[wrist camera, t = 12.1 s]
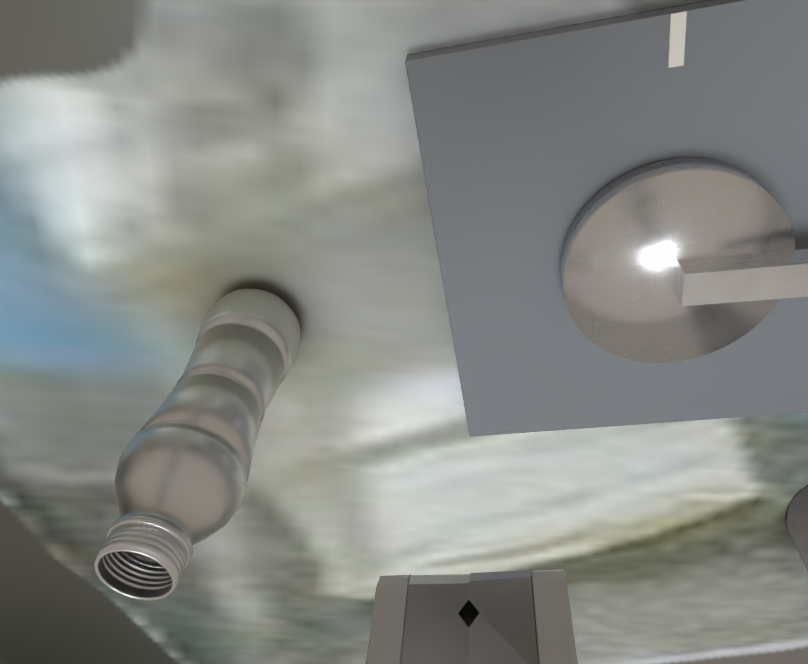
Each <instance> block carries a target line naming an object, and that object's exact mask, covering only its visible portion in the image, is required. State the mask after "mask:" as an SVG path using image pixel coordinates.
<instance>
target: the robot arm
mask: <svg viewBox="0 0 808 664" xmlns="http://www.w3.org/2000/svg"><path fill="white" fill-rule="evenodd" d="M532 582H533V583H532ZM366 664H578V662H577V655H576V648H575V640H574V633H573V626H572V618H571V611H570V604H569V596H568V589H567V582H566V576H565V573H564V570H546V571H532V575H531V570H525V571H505V572H486V573H470V574H448V575H394V576H380V579H379V581H378V584H377V587H376V594H375V601H374V608H373V615H372V622H371V629H370V637H369V644H368V651H367V658H366Z"/></svg>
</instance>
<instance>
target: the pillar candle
mask: <svg viewBox="0 0 808 664" xmlns="http://www.w3.org/2000/svg"><path fill="white" fill-rule="evenodd" d="M786 523H787V528H788V531H789V534H790V536H791V538H792V539H793V542H794V544H795V546H796V548H797V550H798V552H799V554H800V556H801V559H802V560H803V562H804V564H805V566H806V568H807V571H808V486H806V487H804V488H803V489H802V490H801V491H800V492H799V493H798V494H797V495H796V496H794V498H793V499H792V500H791V502H790V504H789V507H788V511H787V518H786Z"/></svg>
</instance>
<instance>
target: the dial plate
mask: <svg viewBox="0 0 808 664" xmlns="http://www.w3.org/2000/svg"><path fill="white" fill-rule="evenodd" d="M405 63H406V69H407V75H408V80H409V86H410V92H411V98H412V104H413V110H414V115H415V121H416V127H417V133H418V139H419V144H420V150H421V156H422V162H423V168H424V173H425V179H426V185H427V191H428V197H429V203H430V208H431V214H432V220H433V226H434V232H435V237H436V243H437V249H438V255H439V261H440V266H441V272H442V278H443V284H444V290H445V296H446V301H447V307H448V313H449V319H450V325H451V330H452V336H453V342H454V348H455V354H456V359H457V365H458V371H459V377H460V383H461V389H462V394H463V400H464V406H465V412H466V418H467V423H468V429H469V435H470V436H483V435H497V434H511V433H525V432H539V431H553V430H567V429H581V428H594V427H608V426H622V425H636V424H650V423H664V422H678V421H691V420H705V419H719V418H733V417H747V416H761V415H775V414H789V413H802V412H808V297H796V298H783V299H779V301H778V302H777V304H776V305H775V306H774V307H773V309H772V310H771V311H770V312H769V314H768V315H767V316H766V317H765V318H764V319H763V320H762V321H761V322H760V323H759V324H758V325H757V326H755V327H754V328H753V329H752V330H751V331H749V332H748V333H747V334H745V335H744V336H742V337H741V338H739V339H738V340H736V341H735V342H733V343H731V344H729V345H727V346H725V347H723V348H722V349H719V350H717V351H714V352H712V353H710V354H707V355H704V356H700V357H697V358H693V359H689V360H684V361H678V362H669V363H649V362H639V361H634V360H629V359H625V358H622V357H619V356H616V355H614V354H611V353H609V352H607V351H605V350H603V349H602V348H600V347H598V346H597V345H595V344H594V343H593V342H592V341H590V340H589V339H588V338H587V337H586V336H585V335H584V334H583V333H582V332H581V331H580V329H579V328H578V327H577V325H576V324H575V322H574V321H573V319H572V317H571V314H570V312H569V310H568V307H567V303H566V299H565V295H564V290H563V286H562V282H561V274H560V261H561V253H562V249H563V244H564V241H565V239H566V236H567V233H568V231H569V229H570V227H571V225H572V223H573V222H574V220H575V219H576V217H577V216H578V214H579V213H580V211H581V210H582V209H583V208H584V206H585V205H586V204H587V203H588V202H589V201H590V200H591V199H592V198H593V197H594V196H595V195H596V194H597V193H598V192H599V191H600V190H602V189H603V188H604V187H606V186H607V185H608V184H610V183H611V182H613V181H614V180H615V179H617V178H619V177H621V176H623V175H624V174H626V173H628V172H630V171H632V170H635V169H637V168H640V167H642V166H644V165H648V164H651V163H655V162H658V161H663V160H668V159H674V158H690V157H692V158H706V159H711V160H716V161H721V162H724V163H726V164H729V165H732V166H735V167H736V168H738V169H740V170H742V171H744V172H746V173H747V174H749V175H750V176H751V177H752V178H754V179H755V180H756V181H757V182H758V183H759V184H760V185H761V186H762V187H763V188H764V189H765V190H766V191H767V192H768V193H769V194H770V195H771V196H772V197H773V198H774V199H775V200H776V201H777V202H778V203H779V204H780V206H781V207H782V209H783V210H784V212H785V213H786V215H787V217H788V219H789V222H790V224H791V227H792V230H793V234H794V239H795V250H802V249H808V0H709V1H703V2H698V3H692V4H687V5H681V6H676V7H670V8H664V9H659V10H653V11H648V12H642V13H637V14H631V15H626V16H620V17H615V18H609V19H604V20H598V21H592V22H587V23H581V24H576V25H570V26H565V27H559V28H554V29H548V30H543V31H537V32H531V33H526V34H520V35H515V36H509V37H504V38H498V39H493V40H487V41H482V42H476V43H471V44H465V45H459V46H454V47H448V48H443V49H437V50H432V51H426V52H421V53H415V54H410V55H407V58H406V60H405Z"/></svg>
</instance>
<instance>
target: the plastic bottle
mask: <svg viewBox="0 0 808 664" xmlns="http://www.w3.org/2000/svg"><path fill="white" fill-rule="evenodd" d="M300 336H301V333H300V326H299V322H298V319H297V318H296V316H295V314H294V312H293V311H292V310H291V309H290V307H289V306H288V305H287V304H286V303H285V302H284V301H283V300H282V299H281V298H279V297H278V296H276V295H274V294H273V293H270V292H267V291H264V290H260V289H240V290H236V291H233V292H230V293H228V294H227V295H225V296H224V297H222V298H221V299H220V300H219V301H218V302H217V303H216V304H215V305H214V306H213V307H212V308H211V309H210V310H209V311H208V312H207V314H206V316H205V318H204V320H203V322H202V325H201V328H200V330H199V334H198V338H197V342H196V346H195V348H194V351H193V353H192V355H191V357H190V359H189V362H188V364H187V366H186V368H185V371H184V373H183V375H182V376H181V378H180V379H179V381H178V382H177V384H176V386H175V387H174V388H173V389H172V391H171V392H170V394H169V395H168V397H167V398H166V400H165V401H164V403H163V404H162V405H161V406H160V408H159V409H158V410H157V411H156V412H155V413H154V414H153V416H152V417H151V418H150V419H149V420H148V421H147V422H146V424H145V425H144V426H143V427H142V428H141V429H140V431H139V432H138V433H137V434H136V435H135V436H134V437H133V438H132V440H131V441H130V443H129V444H128V445H127V447H126V448H125V449H124V451H123V453H122V454H121V456H120V458H119V463H118V467H117V472H116V476H115V491H116V499H117V506H118V509H119V513H120V516H121V517H120V518H118V519H117V520H116V521H115V522H114V523H113V525H112V526H111V528H110V530H109V531H108V533H107V537H106V541H105V543H104V545H103V547H102V548H101V550H100V552H99V554H98V555H97V558H96V561H95V565H94V567H95V572H96V574H97V576H98V577H99V579H100V580H101V581H102V582H103V583H104V584H105V585H106V586H107V587H109V588H110V589H112V590H113V591H115V592H117V593H119V594H121V595H124V596H126V597H130V598H133V599H138V600H148V601H149V600H159V599H162V598H165V597H167V596H169V595H170V594H171V593H172V592H173V591H174V589H175V587H176V586H177V584H178V581H179V579H180V577H181V574H182V572H183V570H184V569H185V568H186V566H187V565H188V563H189V561H190V559H191V556H192V553H193V546H192V545H194V544H196V543H198V542H200V541H202V540H204V539H206V538H207V537H209V536H211V535H212V534H214V533H215V532H217V531H218V530H220V529H221V528H222V527H224V526H225V525H226V524H227V522H228V521H229V520H230V519H231V517H232V516H233V515H234V514H235V512H236V511H237V510H238V509H239V507H240V505H241V503H242V500H243V497H244V493H245V490H246V487H247V481H248V476H249V471H250V466H251V461H252V456H253V451H254V446H255V442H256V439H257V436H258V433H259V430H260V427H261V423H262V420H263V417H264V414H265V411H266V409H267V407H268V406H269V404H270V402H271V400H272V398H273V396H274V394H275V392H276V390H277V388H278V387H279V385H280V384H281V382H282V381H283V380H284V378H285V377H286V376H287V374H288V373H289V371H290V370H291V368H292V366H293V365H294V363H295V361H296V359H297V356H298V353H299V345H300Z"/></svg>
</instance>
